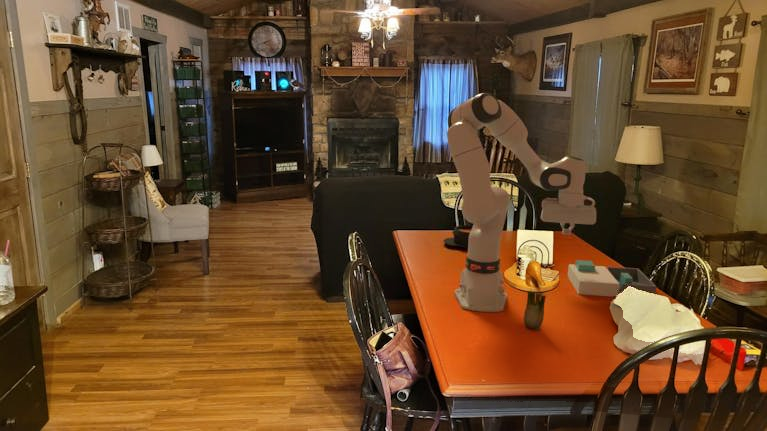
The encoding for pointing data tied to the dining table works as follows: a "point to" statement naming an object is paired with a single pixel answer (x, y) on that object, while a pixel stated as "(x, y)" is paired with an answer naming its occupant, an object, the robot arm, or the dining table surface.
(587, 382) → the dining table surface
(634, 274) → the bin
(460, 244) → the black brimmed hat
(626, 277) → the tile
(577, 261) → the tile
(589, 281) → the plate
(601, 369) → the dining table surface
